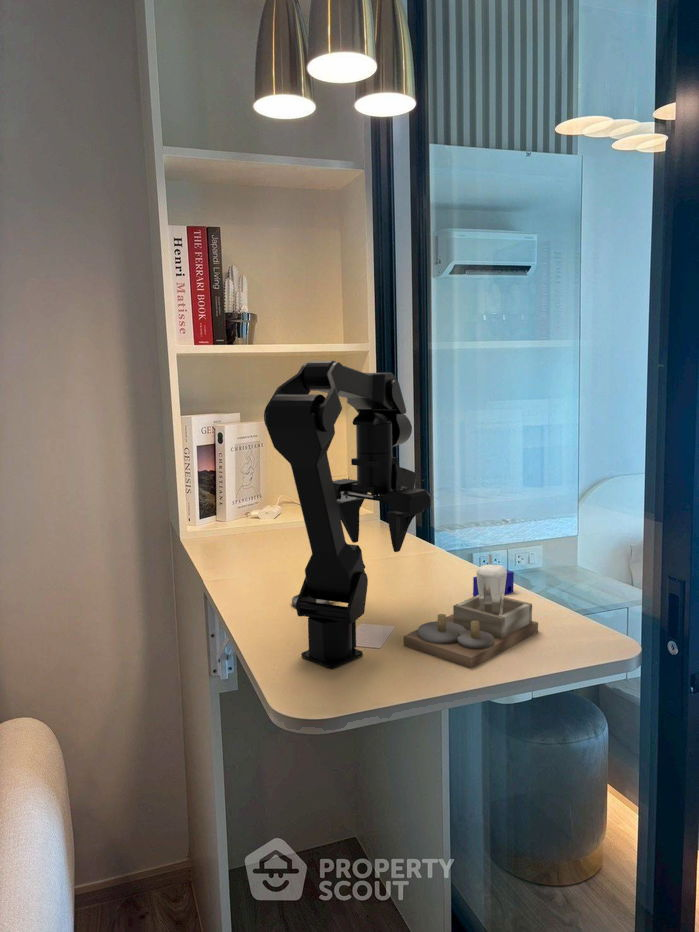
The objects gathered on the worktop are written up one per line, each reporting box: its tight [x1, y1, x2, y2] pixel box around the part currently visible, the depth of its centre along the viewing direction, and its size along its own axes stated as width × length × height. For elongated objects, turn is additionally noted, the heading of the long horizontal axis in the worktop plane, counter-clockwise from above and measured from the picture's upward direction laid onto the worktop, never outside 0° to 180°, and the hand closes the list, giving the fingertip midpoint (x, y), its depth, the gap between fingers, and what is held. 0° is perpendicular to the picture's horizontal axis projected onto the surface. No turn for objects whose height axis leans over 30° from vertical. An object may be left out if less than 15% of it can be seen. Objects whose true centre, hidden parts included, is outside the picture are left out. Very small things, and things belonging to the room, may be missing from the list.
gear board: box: [403, 595, 539, 669], centre depth 107 cm, size 18×12×4 cm, turn 136°
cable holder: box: [472, 569, 515, 597], centre depth 128 cm, size 8×4×4 cm, turn 124°
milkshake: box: [476, 554, 507, 616], centre depth 109 cm, size 4×5×10 cm
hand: (375, 546), depth 115 cm, fingers open, 9 cm apart
